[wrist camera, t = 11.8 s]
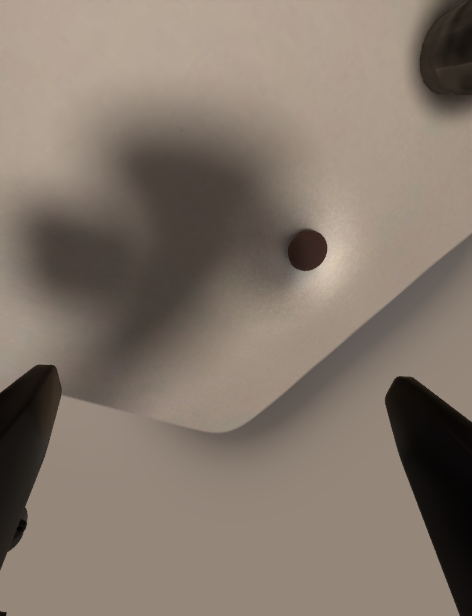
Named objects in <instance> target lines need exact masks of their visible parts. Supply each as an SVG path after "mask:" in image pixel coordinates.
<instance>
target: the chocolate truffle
mask: <svg viewBox="0 0 472 616" xmlns="http://www.w3.org/2000/svg"><path fill="white" fill-rule="evenodd" d="M326 254H327V243H326V240H325V238H324V237H323V236H322V235H321V234H320V233H318V232H316V231H304V232H301V233H299V234H298V235H296V236H295V237H294V238H293V239H292V241H291V242H290V245H289V248H288V258H289V261H290V263H291V264H292V266H293V267H295V268H296V269H298V270H301V271H309V270H313V269H315V268H316V267H318V266H319V265H320V264H321V263H322V262H323V260H324V259H325V257H326Z"/></svg>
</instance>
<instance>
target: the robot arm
mask: <svg viewBox="0 0 472 616" xmlns="http://www.w3.org/2000/svg"><path fill="white" fill-rule="evenodd" d="M61 393H62V388H61V383H60V379H59V375H58V372H57V368H56V367H55V366H54V365H36V366H34V367H33V368H32V369H30V370H29V371H28V372H27V373H25V374H24V375H23V376H21V377H20V378H19V379H17V380H16V381H15V382H14V383H12V384H11V385H10V386H8V387H7V388H6V389H5V390H3V391H2V392H1V393H0V569H1V567H2V564H3V562H4V559H5V556H6V554H7V552H8V549H9V547H10V544H11V542H12V541H13V540H14V539H16V538H17V537H18V536H19V535H20V534H21V533H22V532H23V531H24V530H25V529H26V526H27V522H26V521H25V520H22V519H20V518H21V516H22V513H23V511H24V508H25V506H26V503H27V501H28V498H29V496H30V493H31V490H32V488H33V485H34V483H35V480H36V478H37V475H38V473H39V470H40V468H41V465H42V462H43V460H44V457H45V454H46V450H47V447H48V443H49V440H50V436H51V432H52V428H53V425H54V421H55V417H56V413H57V410H58V406H59V402H60V398H61ZM385 405H386V408H387V412H388V416H389V419H390V423H391V427H392V431H393V434H394V438H395V442H396V446H397V449H398V452H399V456H400V458H401V462H402V464H403V467H404V470H405V472H406V475H407V478H408V480H409V483H410V486H411V488H412V491H413V493H414V496H415V499H416V501H417V504H418V507H419V509H420V512H421V514H422V517H423V520H424V522H425V525H426V528H427V530H428V533H429V536H430V538H431V541H432V543H433V546H434V549H435V551H436V554H437V557H438V559H439V562H440V564H441V567H442V570H443V572H444V575H445V578H446V580H447V583H448V586H449V588H450V591H451V593H452V596H453V599H454V601H455V604H456V607H457V609H458V612H459V615H460V616H472V422H471V421H469V420H468V419H467V418H466V417H464V416H463V415H462V414H460V413H459V412H458V411H456V410H455V409H454V408H452V407H451V406H450V405H448V404H447V403H446V402H445V401H443V400H442V399H441V398H439V397H438V396H437V395H435V394H434V393H433V392H431V391H430V390H429V389H427V388H426V387H425V386H424V385H422V384H421V383H420V382H418V381H417V380H415V379H414V378H412V377H404V376H399V377H396V378H395V379H394V381H393V383H392V385H391V387H390V388H389V390H388V392H387V394H386V397H385ZM0 616H6V612H1V611H0Z"/></svg>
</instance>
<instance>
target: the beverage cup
mask: <svg viewBox="0 0 472 616" xmlns="http://www.w3.org/2000/svg"><path fill="white" fill-rule="evenodd" d="M420 63H421V73H422V76H423V79H424V82H425V83H426V85H427V86H428V87H429V88H430V89H431V90H432V91H434V92H436V93H438V94H455V95H472V0H466V1H464V2H463V3H462V4H461V5H460V6H458V7H456V8H455V9H453V10H452V11H450V12H448V13H446V14H444V15H443V16H442V17H441V18H439V19H438V20H437V21H436V22H435V24H434V25H433V26H432V28H431V29H430V31H429V32H428V34H427V36H426V39H425V41H424V44H423V47H422V52H421V58H420Z"/></svg>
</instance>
